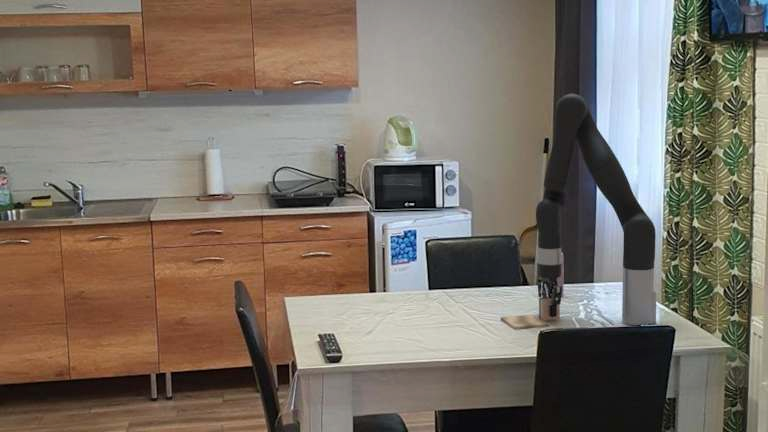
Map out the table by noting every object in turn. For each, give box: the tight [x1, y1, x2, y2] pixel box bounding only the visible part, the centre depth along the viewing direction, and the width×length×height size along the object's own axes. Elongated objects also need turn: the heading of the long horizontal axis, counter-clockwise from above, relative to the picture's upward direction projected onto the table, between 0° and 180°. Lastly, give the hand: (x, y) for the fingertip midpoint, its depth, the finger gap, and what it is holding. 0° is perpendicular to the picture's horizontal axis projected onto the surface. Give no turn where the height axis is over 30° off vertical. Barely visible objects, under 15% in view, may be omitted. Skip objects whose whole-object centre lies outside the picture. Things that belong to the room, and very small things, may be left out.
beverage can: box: [551, 252, 565, 298], centre depth 327 cm, size 6×6×15 cm
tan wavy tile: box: [500, 314, 550, 330], centre depth 293 cm, size 11×12×1 cm
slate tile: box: [538, 297, 561, 321], centre depth 298 cm, size 6×2×7 cm, turn 104°
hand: (549, 314), depth 298 cm, fingers open, 5 cm apart
